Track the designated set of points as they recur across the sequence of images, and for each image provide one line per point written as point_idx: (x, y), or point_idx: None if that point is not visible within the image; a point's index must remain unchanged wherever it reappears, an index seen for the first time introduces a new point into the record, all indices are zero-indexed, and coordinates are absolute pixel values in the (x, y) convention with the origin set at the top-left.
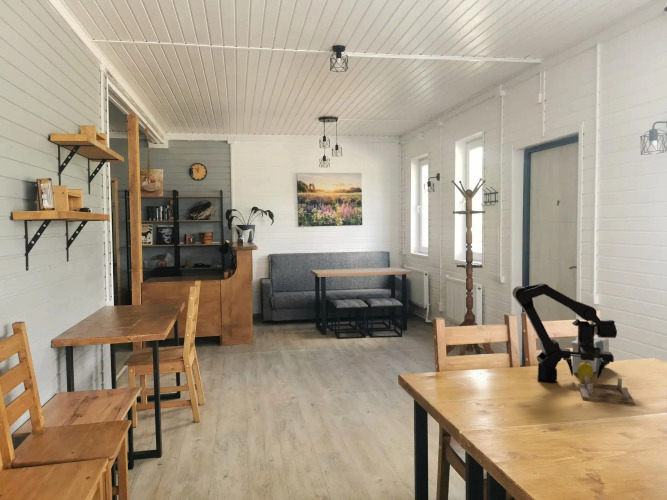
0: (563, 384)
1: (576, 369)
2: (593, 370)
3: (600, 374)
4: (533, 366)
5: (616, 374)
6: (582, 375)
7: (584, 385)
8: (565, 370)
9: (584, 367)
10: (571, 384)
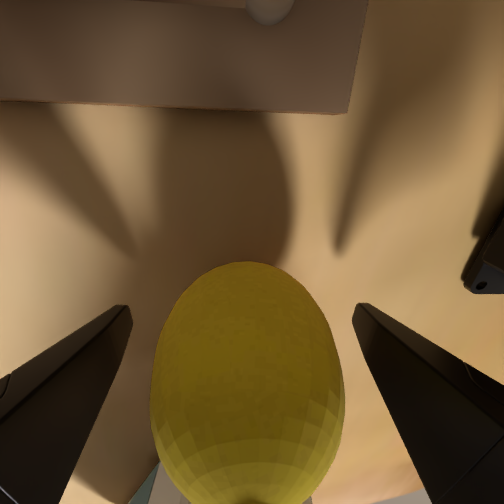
0: (464, 140)
1: None
2: None
3: (76, 331)
4: None
5: None
6: (284, 276)
7: (290, 40)
8: None
9: (279, 372)
10: (382, 168)
